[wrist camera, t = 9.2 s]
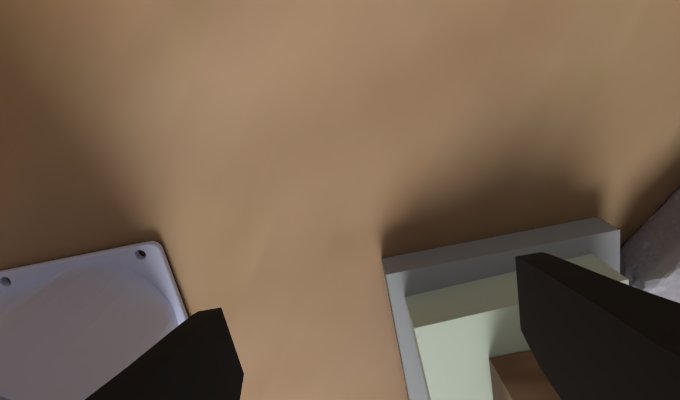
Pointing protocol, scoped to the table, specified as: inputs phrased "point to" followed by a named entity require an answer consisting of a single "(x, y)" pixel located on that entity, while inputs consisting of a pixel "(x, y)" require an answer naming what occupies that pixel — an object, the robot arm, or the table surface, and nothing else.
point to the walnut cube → (519, 378)
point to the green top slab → (473, 331)
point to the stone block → (655, 253)
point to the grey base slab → (483, 272)
